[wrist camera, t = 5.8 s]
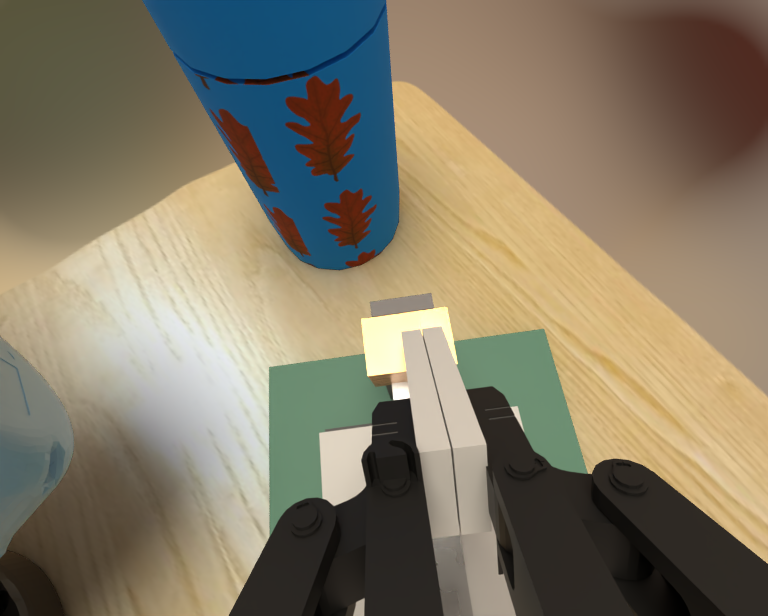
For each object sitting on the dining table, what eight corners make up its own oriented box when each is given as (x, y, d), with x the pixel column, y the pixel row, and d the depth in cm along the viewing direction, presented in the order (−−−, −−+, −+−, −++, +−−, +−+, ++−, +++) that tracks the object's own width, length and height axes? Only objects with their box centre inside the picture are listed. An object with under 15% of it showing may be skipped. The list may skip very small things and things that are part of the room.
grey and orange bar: (421, 764, 15) (423, 864, 11) (370, 339, 20) (361, 319, 17) (516, 754, 15) (548, 851, 11) (441, 329, 20) (446, 307, 17)
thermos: (421, 243, 33) (425, -277, 10) (300, 291, 32) (17, -161, 10) (373, 154, 38) (302, -352, 15) (266, 194, 37) (12, -278, 14)
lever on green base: (276, 774, 21) (146, 1044, 11) (273, 370, 30) (199, 315, 20) (658, 732, 21) (888, 975, 10) (540, 333, 29) (603, 257, 19)
